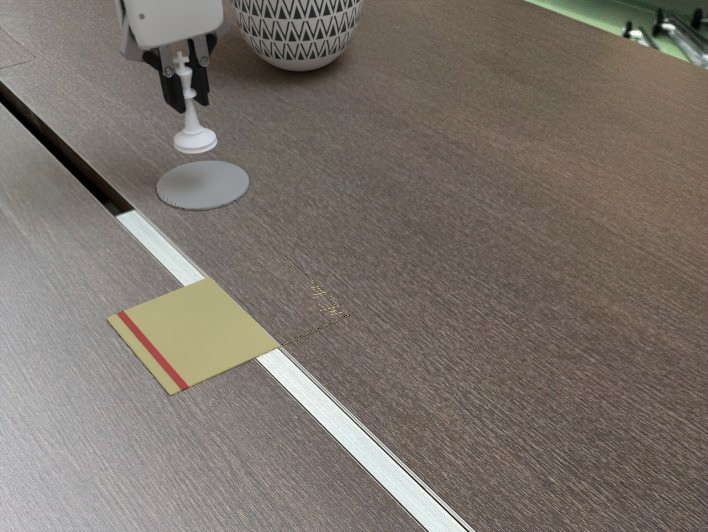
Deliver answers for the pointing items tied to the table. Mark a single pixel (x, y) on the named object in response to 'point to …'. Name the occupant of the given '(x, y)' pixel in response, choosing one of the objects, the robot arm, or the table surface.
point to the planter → (297, 30)
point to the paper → (192, 334)
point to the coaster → (203, 185)
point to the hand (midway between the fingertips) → (188, 104)
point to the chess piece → (191, 116)
